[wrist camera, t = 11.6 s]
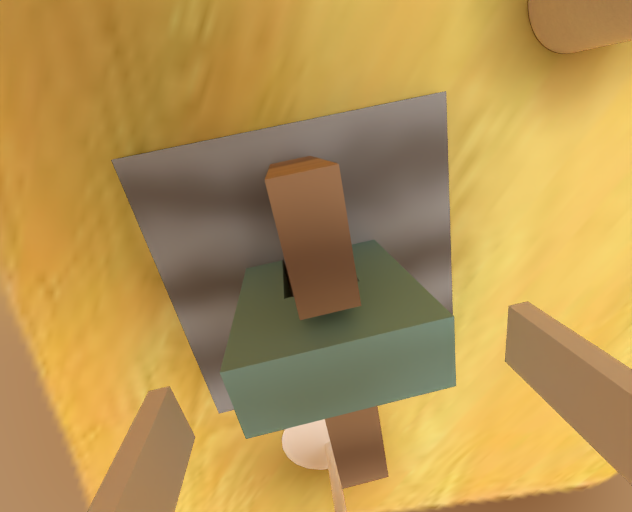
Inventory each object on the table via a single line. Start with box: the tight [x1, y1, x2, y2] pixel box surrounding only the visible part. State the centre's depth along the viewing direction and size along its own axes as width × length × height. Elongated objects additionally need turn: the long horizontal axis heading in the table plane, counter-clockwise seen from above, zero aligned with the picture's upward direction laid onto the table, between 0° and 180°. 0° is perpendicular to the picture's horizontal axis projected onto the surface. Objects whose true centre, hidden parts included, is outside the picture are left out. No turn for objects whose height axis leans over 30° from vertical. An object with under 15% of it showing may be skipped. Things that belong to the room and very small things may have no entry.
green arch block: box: [220, 240, 456, 439], centre depth 16 cm, size 4×9×10 cm, turn 101°
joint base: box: [111, 91, 453, 489], centre depth 17 cm, size 20×20×10 cm
